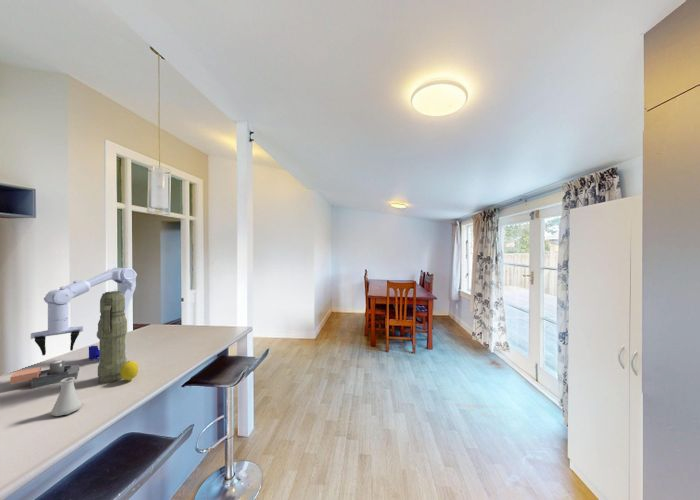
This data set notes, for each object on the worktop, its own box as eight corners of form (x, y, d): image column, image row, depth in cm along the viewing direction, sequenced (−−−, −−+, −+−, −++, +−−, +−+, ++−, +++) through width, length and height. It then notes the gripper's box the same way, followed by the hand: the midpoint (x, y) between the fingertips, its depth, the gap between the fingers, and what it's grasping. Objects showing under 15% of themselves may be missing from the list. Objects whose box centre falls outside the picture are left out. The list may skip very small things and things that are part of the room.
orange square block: (40, 372, 108) (40, 366, 108) (37, 378, 103) (37, 372, 103) (15, 377, 104) (15, 371, 104) (10, 384, 99) (10, 377, 99)
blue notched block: (110, 349, 141) (110, 338, 141) (118, 350, 140) (118, 338, 140) (85, 359, 129) (85, 346, 129) (94, 359, 128) (94, 346, 128)
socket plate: (79, 370, 116) (79, 362, 116) (76, 378, 109) (76, 370, 109) (37, 379, 108) (37, 370, 108) (31, 388, 101) (31, 379, 101)
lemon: (118, 385, 103) (118, 364, 103) (122, 379, 108) (122, 359, 108) (136, 382, 106) (136, 361, 106) (139, 376, 111) (139, 356, 111)
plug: (66, 376, 111) (66, 358, 111) (59, 380, 107) (59, 362, 107) (54, 377, 110) (54, 359, 110) (46, 381, 106) (46, 363, 106)
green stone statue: (93, 387, 102) (93, 295, 102) (102, 375, 112) (102, 290, 112) (123, 382, 106) (123, 293, 106) (129, 370, 116) (129, 289, 116)
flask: (66, 404, 91) (66, 374, 91) (89, 403, 92) (89, 373, 92) (43, 417, 84) (43, 385, 84) (68, 416, 84) (68, 384, 84)
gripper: (83, 314, 119) (83, 345, 119) (32, 320, 109) (32, 354, 109) (82, 317, 114) (82, 349, 114) (29, 323, 104) (29, 359, 104)
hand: (58, 352), depth 111 cm, fingers open, 7 cm apart
